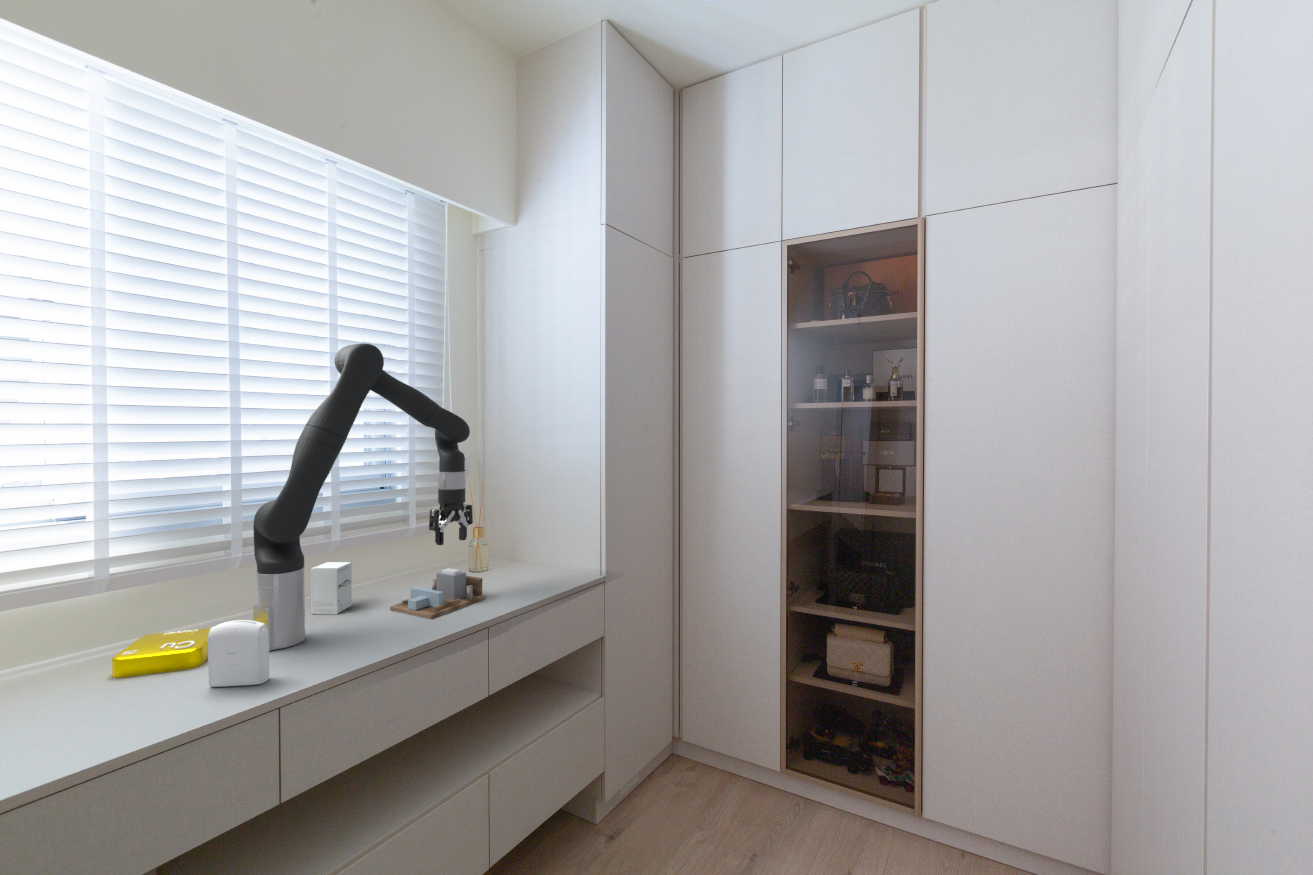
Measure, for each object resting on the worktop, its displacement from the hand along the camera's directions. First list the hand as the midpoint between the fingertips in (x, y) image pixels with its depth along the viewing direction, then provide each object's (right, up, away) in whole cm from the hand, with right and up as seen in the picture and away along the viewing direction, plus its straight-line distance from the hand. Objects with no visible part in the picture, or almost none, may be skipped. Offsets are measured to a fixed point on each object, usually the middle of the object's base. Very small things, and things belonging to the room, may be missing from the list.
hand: (451, 542), depth 165 cm
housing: (-2, -17, -3) cm, 17 cm away
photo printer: (-23, -18, -53) cm, 61 cm away
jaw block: (0, -16, 0) cm, 16 cm away
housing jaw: (-5, -16, -10) cm, 19 cm away
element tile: (-46, -18, -42) cm, 65 cm away
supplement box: (-30, -17, -9) cm, 35 cm away
